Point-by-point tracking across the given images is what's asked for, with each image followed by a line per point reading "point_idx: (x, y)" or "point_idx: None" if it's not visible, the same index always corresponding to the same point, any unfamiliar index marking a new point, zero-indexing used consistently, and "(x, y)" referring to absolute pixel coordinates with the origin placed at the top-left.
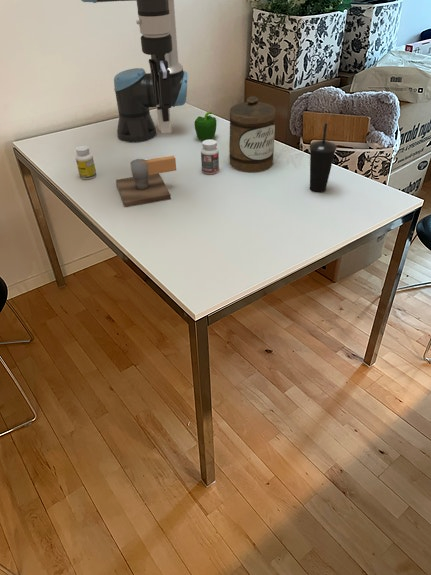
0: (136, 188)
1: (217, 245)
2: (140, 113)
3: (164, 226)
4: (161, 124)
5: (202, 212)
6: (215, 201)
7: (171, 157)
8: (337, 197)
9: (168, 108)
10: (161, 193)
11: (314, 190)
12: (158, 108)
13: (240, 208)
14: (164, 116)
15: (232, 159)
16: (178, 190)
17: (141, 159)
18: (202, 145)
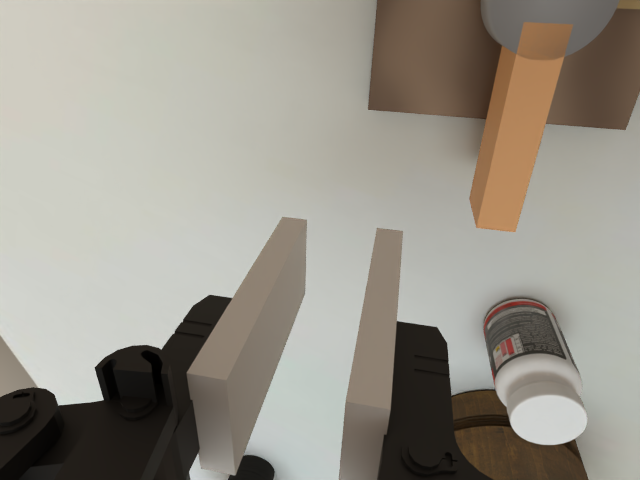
0: None
1: (33, 143)
2: None
3: (167, 9)
4: (257, 262)
5: (227, 177)
6: None
7: (496, 212)
8: (204, 472)
9: (200, 453)
10: (396, 74)
11: (241, 460)
12: (104, 366)
13: (218, 286)
14: (175, 340)
15: (500, 414)
16: (428, 159)
17: (592, 29)
18: (557, 386)
